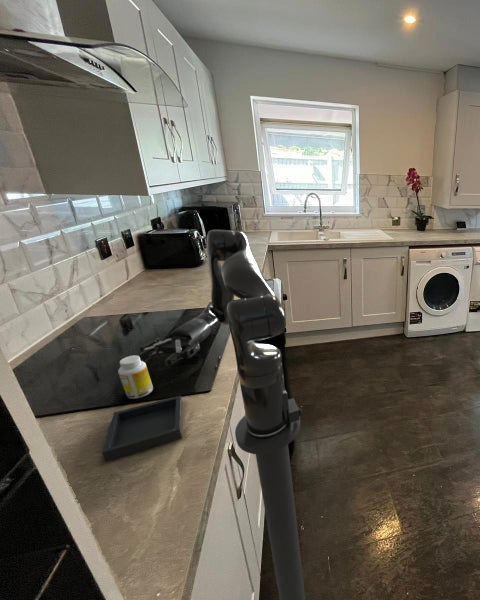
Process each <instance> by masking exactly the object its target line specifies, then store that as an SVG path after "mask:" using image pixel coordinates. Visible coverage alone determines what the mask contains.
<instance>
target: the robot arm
mask: <svg viewBox="0 0 480 600" xmlns="http://www.w3.org/2000/svg"><path fill="white" fill-rule="evenodd" d="M250 246H251V245H250V243H249V240H248V237H247V236H246V234H245V233H244V232H242V231H239V230H228V229H227V230H226V229H211V230H209V231H208V233H207V235H206V256H207V264H208V271H209V276H210V277H209V278H210V284H211V287H210V300H211V301H210V302H208V303H207V305H206V306H205V308H204V309H203V310H202V312H201V313H199V315H198V316H196V317H194V318H192V319H190V320H187V321H186V322H185V323H184V324H182V325H180V326H179V327H177V328H175V329H174V330H172V331H171V333H170V334H169V337H168V338H166V339H163V340H160V339H159V337H155V338H152V340H149V341H147V342H146V343H144V344H143V345H141V346H139V353H137V354H136V355H135V356H139V357H140V360H141V361H142V362H144V361H146V360H148V359H149V358H150V357H154V356H161V355H164V354H170V355H168V357H166V358H165V359H164V366H165V367H171V366H172V365H174V364H175V363H177V362H178V361H180V360H183V359H185V360H190V359H191V358H192V357H193V356H194V355H196V353H198V351H200V350H201V346H200V344H201V343H202V342H204V341H205V340H206V339H207V338H208V336H210V335H211V334H213V332H215V331H217V329H218V328H220V327H219V326H220V324H221V325H224V326H228V327H229V328H228V329H229V333H230V336H231V340H232V344H233V350H234V355H235V361H236V368H237V372H238V380H239V385H240V391H241V392H240V393H241V397H242V403H243V410H244V416H246V421H247V430H248V433H249V434H250V435H251V436H252V437H254V438H258V439H265V438H270V437H273V436H276V435H278V434H279V433H281V432H282V431H283V430H284V429H285V428H286V427H288V426H290V425H291V423H292V422H295V421H298V420H300V421H301V416H302V414H303V410H302V408H301V407H298V405H297V403H296V400H295V398H294V397H293V398H289V395H288V392H287V390H286V387H285V385H286V384H285V377H284V367H283V358H282V357H283V355H282V352H281V350H280V348H278V347H277V346H274V345H272V344H269V343H259V342H256V341H263V340H266V339H267V340H268V339H270V338H275V337H277V336H280V335H282V334H283V333H284V331H286V326H287V316H286V312H285V309H284V307H283V305H282V303H281V300H279V298H278V296H277V294H275V292H274V291H273V290H272V288H271V287H270V286H269V284H268V282H267V281H266V278H265V276H264V274H263V271H262V269H261V267H260V265H259V264H258V262H257V261H256V258H255V257H254V254H253V252H252V250H251V247H250ZM221 262H223V263H222V265H221ZM235 297H237V298H238V299H235ZM159 348H160V349H161V350H159Z"/></svg>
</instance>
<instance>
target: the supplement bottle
mask: <svg viewBox="0 0 480 600" xmlns="http://www.w3.org/2000/svg"><path fill="white" fill-rule="evenodd" d="M117 373H118V376H119V379H120V382H121V385H122V387H123V390H124V394H125V396H126V397H127V399H131V400H135V399H141V398H144V397H146V396H148V395H149V394H151V393H152V392H153V390H154V386H153V383H152V379H151V376H150V373H149V369H148V367H147V364H146V362H144V361H143V362H142V361H141V360H140V357H139V356H136V355H129V356H125V357H124V358H122V359H121V360H119V368H118V370H117Z"/></svg>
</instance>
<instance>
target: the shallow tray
mask: <svg viewBox="0 0 480 600" xmlns="http://www.w3.org/2000/svg"><path fill="white" fill-rule="evenodd" d="M183 415H184V402H183V399H182V395H176V396H173V397H169V398H165V399H161V400H156V401H153V402H150V403H146V404H141V405H138V406H134V407H130V408H126V409H122V410H118V411H114V412H113V414H112V418H111V420H110V424H109V427H108V431H107V434H106V437H105V442H104V445H103V447H102V452H101V454H102V457H103V459H104V461H105V463H106V462H110V461H114V460H117V459H120V458H123V457H126V456H128V455H129V456H130V455H133V454H137V453H139V452H142V451H145V450H150V449H152V448H156V447H159V446H162V445H165V444H169V443H172V442H175V441H178V440H181V439H183Z"/></svg>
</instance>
